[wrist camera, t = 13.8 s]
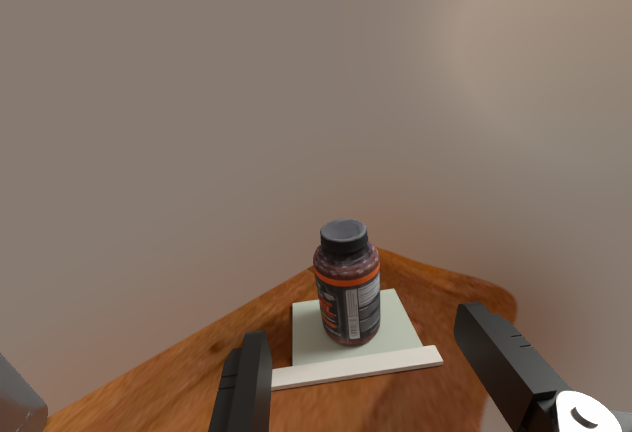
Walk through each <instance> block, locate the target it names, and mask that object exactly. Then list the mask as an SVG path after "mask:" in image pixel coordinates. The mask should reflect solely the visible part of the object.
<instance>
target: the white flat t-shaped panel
mask: <svg viewBox="0 0 632 432" xmlns="http://www.w3.org/2000/svg"><path fill="white" fill-rule="evenodd" d="M380 313H381V317H380V328H379V330H378V332H377V334H376V335H375V336H374V337H373V338H372V339H371V340H369V341H368V342H366V343H363V344H359V345H343V344H341V343H338V342H336V341H335V340H333V339H332V338H331V337H329V335H328V334H327V333H326V331H325V329H324V326H323V322H322V317H321V311H320V304H319V300H313V301H306V302H299V303H293V366H291V367H284V368H278V369H272V385H271V391H274V390H280V389H287V388H293V387H300V386H307V385H313V384H320V383H327V382H333V381H340V380H346V379H353V378H360V377H366V376H373V375H380V374H386V373H393V372H400V371H406V370H413V369H419V368H426V367H433V366H439V365H443V360H442V358H441V356H440V354H439V352H438V351H437V349H436V347H435V345H432V346H425V347H423V345H422V343H421V341H420V339H419V338H418V336H417V334H416V332H415V330H414V328H413V326H412V324H411V322H410V320H409V318H408V316H407V314H406V312H405V310H404V308H403V306H402V304H401V302H400V300H399V298H398V296H397V294H396V292H395V290H394V289H389V290H382V291H380Z"/></svg>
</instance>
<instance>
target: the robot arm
mask: <svg viewBox="0 0 632 432" xmlns="http://www.w3.org/2000/svg"><path fill="white" fill-rule="evenodd" d="M454 337H455V340H456V342H457V344H458V346H459V348H460V349H461V351H462V352H463V354H464V356H465V357H466V359H467V360H468V362H469V363H470V365H471V367H472V368H473V370H474V371H475V373H476V374H477V376H478V378H479V379H480V381H481V382H482V384H483V385H484V387H485V388H486V390H487V392H488V393H489V395H490V396H491V398H492V399H493V401H494V402H495V404H496V406H497V407H498V409H499V410H500V412H501V413H502V415H503V417H504V418H505V420H506V421H507V423H508V424H509V426H510V428H511V429H512V431H513V432H632V414H630V413H625V412H619V411H613V410H609V409H606V408H605V407H604V406H602V405H601V404H600V403H599V402H597V401H595V400H594V399H592V398H590V397H588V396H586V395H584V394H581V393H578V392H575V391H573V390H572V389H571V388H570V387H569V386H568V385H567V384H566V383H565V381H564V380H562V378H560V376H559V375H558V374H557V373H556V372H555V371H554V370H553V368H552V367H551V366H550V365H549V364H548V363H547V362H546V361H545V360H544V359H543V357H542V356H541V355H540V354H539V353H538V352H537V351H536V350H535V349H534V348H533V347H531V344H530V343H529V342H528V341H527V340H526V339H525V338H524V337H522V335H521V334H520V332H519V331H517V329H516V328H515V327H514V326H513V325H512V324H511V323H510V322H509V321H507V320H506V319H504V318H503V317H501V316H500V315H498V314H497V313H494V314H491V313H490V312H489V311H488V310H487V308H486V307H485V306H484V305H483V304H482V303H481V302H471V303H463V304H459V305H458V308H457V314H456V319H455V325H454ZM271 385H272V355H271V351H270V347H269V343H268V340H267V336H266V332H265V330H262V331H255V332H247V333H246V334H245V337H244V342H243V347H242V348H237V349H233V350H232V351H231V353H230V354H229V356H228V358H227V359H226V361H225V363H224V367H223V371H222V376H221V380H220V384H219V388H218V389H219V391H218V392H217V397H216V401H215V405H214V409H213V413H212V418H211V422H210V426H209V430H208V432H269V416H270V401H271ZM47 416H48V408H47V405H46V403H45V402H44V400H43V399H42V398H41V397H40V396H39V395H38V394H37V393H36V392H35V391H34V389H32V387H31V386H30V385H29V384H28V383H27V382H26V381H25V380H24V379H23V377H22V376H21V375H20V374H19V373H18V371H17V370H16V369H15V368H14V367H13V366H12V365H11V364H10V363H9V362H8V361H7V360H6V358H5V357H4V356H3V355H2V354H1V353H0V432H42V431H43V428H44V426H45V424H46V421H47Z"/></svg>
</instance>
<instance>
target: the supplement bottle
mask: <svg viewBox="0 0 632 432" xmlns="http://www.w3.org/2000/svg"><path fill="white" fill-rule="evenodd" d="M320 234H321V245H320V246H319V247H318V248H317V249H316V251H315V254H314V257H313V264H314V271H315V278H316V285H317V291H318V298H319V304H320V311H321V317H322V322H323V326H324V329H325V331H326V333H327V334H328V335H329V337H331V338H332V339H333V340H335V341H336V342H338V343H341V344H343V345H359V344H363V343H366V342H368V341H369V340H371V339H372V338H373V337H374V336H375V335H376V334H377V332H378V330H379V328H380V317H381V313H380V268H379V266H380V265H379V254H378V251H377V249H376V247H375V246H374V245H373V244H372V243H371V242H369V241H368V236H367V228H366V225H365V224H364V223H363V222H361V221H359V220H355V219H337V220H334V221H331V222H328V223H327V224H325V225H324V226H323V227H322V228H321V231H320Z"/></svg>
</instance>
